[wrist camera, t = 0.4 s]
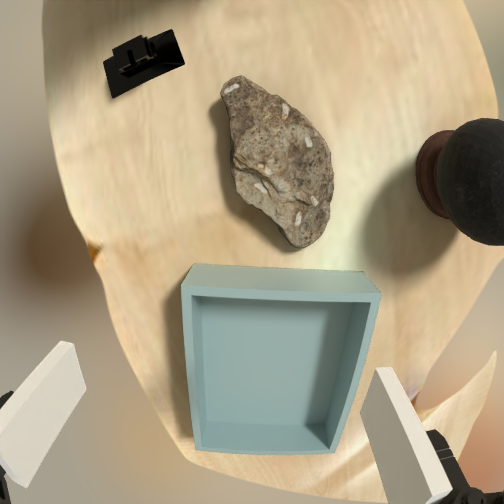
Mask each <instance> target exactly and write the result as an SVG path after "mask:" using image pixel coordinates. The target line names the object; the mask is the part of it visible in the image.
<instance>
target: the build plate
mask: <svg viewBox="0 0 504 504" xmlns="http://www.w3.org/2000/svg"><path fill="white" fill-rule="evenodd" d="M112 51H113V55H114V56H112V57H110V58H109V59H107V60H105V61H104V62H103V65H104V69H105V73H106V77H107V81H108V84H109V88H110V92H111V96H112V98H115V97H117V96H119V95H121V94H123V93H125V92H127V91H129V90H131V89H133V88H135V87H137V86H139V85H141V84H143V83H145V82H147V81H149V80H151V79H153V78H155V77H157V76H160V75H162V74H164V73H166V72H169V71H171V70H173V69H176V68H178V67H180V66H183V65H185V62H184V59H183V57H182V54H181V51H180V48H179V46H178V43H177V40H176V38H175V35H174V32H173V30H172V29H170V30H168V31H165V32H163V33H161V34H158V35H156V36H154V37H151V38H148V37H143V36H142V35H140V36H138V37H136V38H133V39H131V40H129V41H127V42H125V43H124V44H122V45H120V46H118V47H116V48H114V49H112Z"/></svg>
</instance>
